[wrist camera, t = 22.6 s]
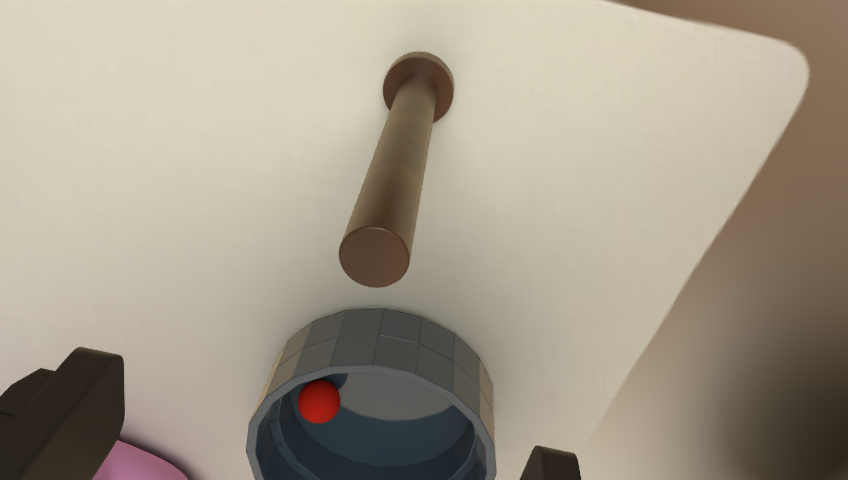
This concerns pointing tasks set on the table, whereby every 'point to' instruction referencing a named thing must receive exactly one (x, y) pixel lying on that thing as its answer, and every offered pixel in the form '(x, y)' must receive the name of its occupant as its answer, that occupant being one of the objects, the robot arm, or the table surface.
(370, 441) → the bowl
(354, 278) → the brown wooden pestle
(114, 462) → the teapot
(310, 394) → the cherry tomato
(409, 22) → the table surface
